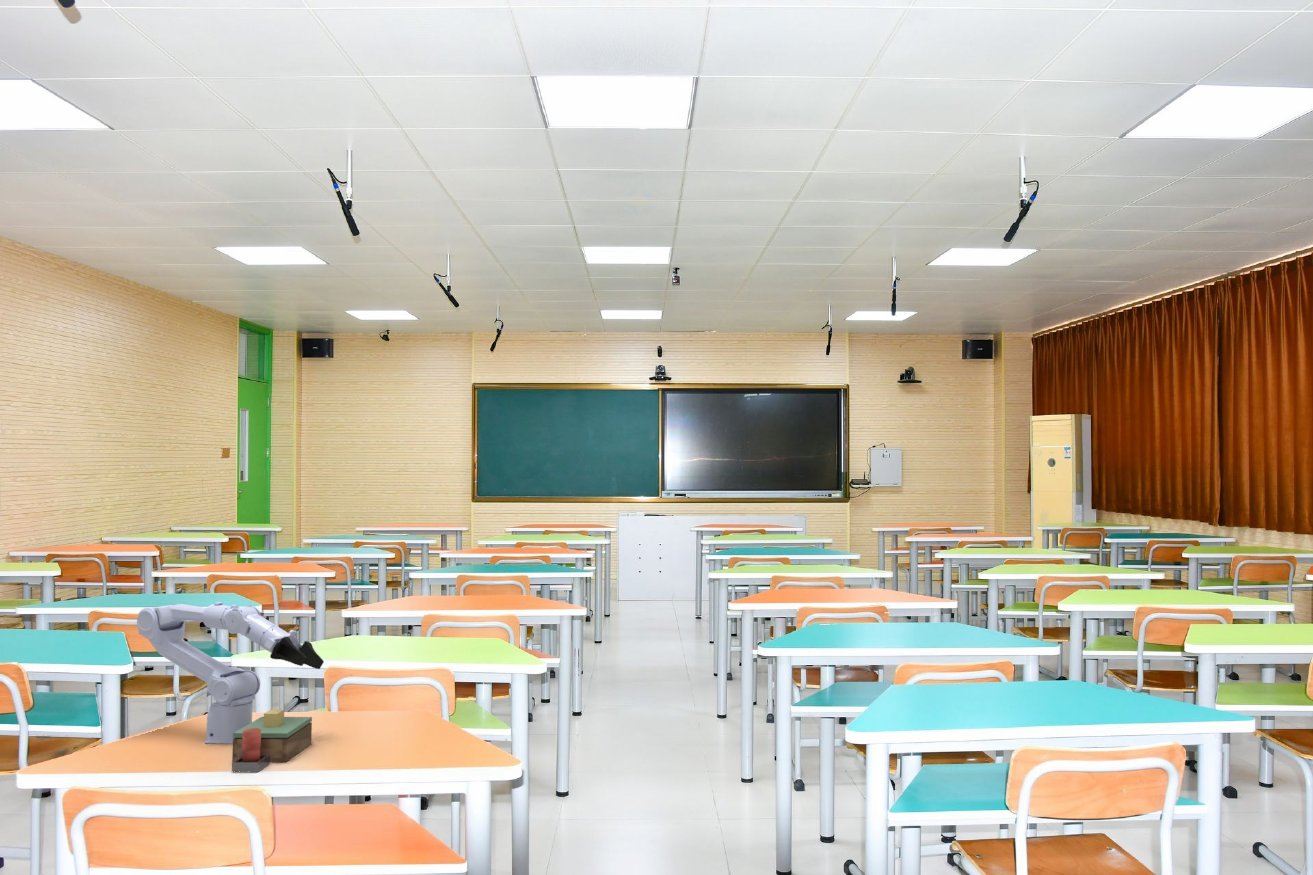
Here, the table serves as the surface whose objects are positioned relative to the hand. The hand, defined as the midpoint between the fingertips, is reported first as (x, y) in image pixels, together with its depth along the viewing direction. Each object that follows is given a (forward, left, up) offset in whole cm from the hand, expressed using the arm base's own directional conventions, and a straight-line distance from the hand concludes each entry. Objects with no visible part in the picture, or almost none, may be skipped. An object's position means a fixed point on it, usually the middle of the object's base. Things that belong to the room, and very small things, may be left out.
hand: (312, 663), depth 207 cm
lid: (-7, -4, -14) cm, 16 cm away
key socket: (-7, -15, -19) cm, 26 cm away
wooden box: (-7, -4, -19) cm, 21 cm away
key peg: (-7, -15, -19) cm, 26 cm away
